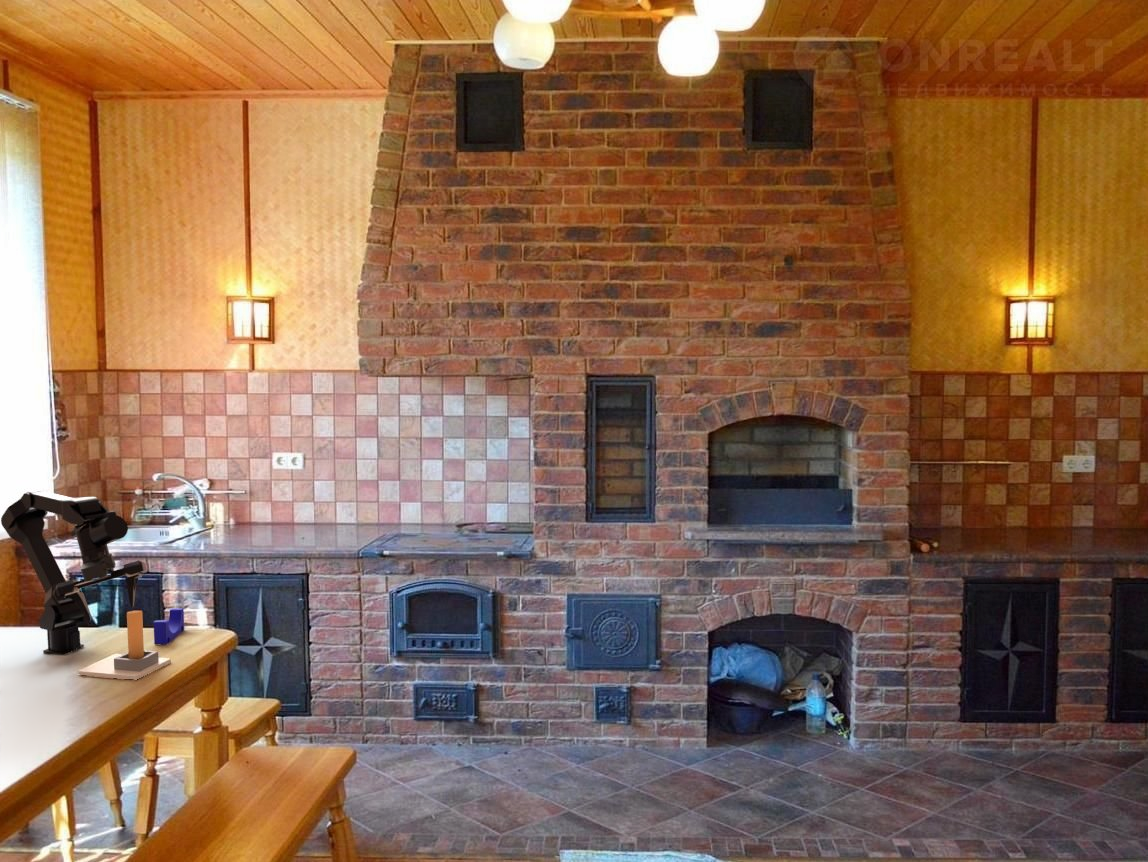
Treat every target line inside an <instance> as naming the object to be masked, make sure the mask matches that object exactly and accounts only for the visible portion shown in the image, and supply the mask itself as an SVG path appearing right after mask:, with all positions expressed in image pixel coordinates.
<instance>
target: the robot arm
mask: <svg viewBox="0 0 1148 862" xmlns="http://www.w3.org/2000/svg"><path fill="white" fill-rule="evenodd" d="M48 513H52V514H56V515H60V517H61V518H62V520H63V521H65V522H66V523H68V524H70V525H74V528H73V530H72V531H71V533H70V536H71V537H72V538H74V537H76V540H77V545H78V549H79V552H80V555H81V560H82V564H81V566H80V572H81V574H82V578H83V579H81V580H78V579H70V580H66V578H65V576H64V575H63V572H62V571H61V568H60V567H59V565H58V563H57V561H56V559H55V556H54V555H53V552H52V551H51V548H50V546H49V545H48V543H47V541H46V539H45V536H44V534H43V533H44V530H45V529H44V528H45V524H46V523H45V520H44V519H45V518H46V516H47V515H48ZM0 523H1V526H2V528H3V529H4V531H5V532H6V533H7V535H8V537H9V538H10V539H13V540H14V541H16V542H17V543H19V544H20V545H21V546H22V547H23V550H24V552H25V554H26V556H27V558H28V559H29V562H30V564H31V567H32V568H33V570H34V572H35V573H36V576H37V578H38V580H39V582H40V584H41V586H42V588H43V591H44V592H45V596H44V602H43V608H44V612H42V614H41V616H40V617H39V618H38V624H39V628H40V629H41V630H45V631H46V633H47V636H46V637H47V648H46V649H44V650H42V652H43V653H44V654H54V655H68V654H70V653H72V652H71V651H73V652H75V651H77V650H79V649H81V647H82V648H84V647H85V644H82V643H81V631H80V629H79V624H81V623H85V622H86V618H87V620H88V621H89V622H90V621H92V614H91V611H90V608H89V605H88V603H87V599H86V596H85V594H84V592H82V590H81V589H84V588H86V587H90V586H93V585H97V584H101V583H103V582H107V581H111V580H114V579H118V578H120V577H123V576H126V577H125V578H124V580H125V583H126V587H127V588H126V589H127V593H128V595H127V596H128V602H129V604H130V608H134V607H135V599H136V598H135V597H136V590H137V585H138V582H139V579H140V578H143V574H145V573H147V572H148V569H147V565H146V563H145V561H142V560H136V561H133V562H130V563H125V564H123V567H122V568H119V569H116V570H115V567H116V561H115V559H114V556H113V554H112V553H110V551H109V546H108V545H109V544H112V543H113V542H115V541H118V540H121V539H122V538H123V539H124V537H126V535H127V534H128V530H129V525H128V522H127V521H126V520H125V519H124V518H123V517H121V516H119V515H117V513H116V510H111V511H110V510H108V508H107V507H106V506H105V505H104V504H103V503H102V501H100V499H99V498H98V497H96V496H83V497H82V496H81V497H70V496H66V495H62V494H58V493H54V492H49V491H48V490H44V489H40V490H33V491H26V492H25V493H24V494H23V495H21V497H20V498H19V499H17V501H15V502H14V503H12V504H11V505H9V506H8V507H7V508H6V510H4V513H3V514H2V515H1V517H0ZM108 574H110V575H108ZM76 649H77V650H76ZM74 650H75V651H74Z"/></svg>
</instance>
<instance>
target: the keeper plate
mask: <svg viewBox="0 0 1148 862" xmlns="http://www.w3.org/2000/svg"><path fill="white" fill-rule="evenodd" d="M171 663H172V661H171V658H167V657H159V651H158V650H157V651H156V650H155V651H154V650H146V649H144V657H143V658H141V659H129V655H128V651H127V652H125V653H123V654H121V653H114V654H112V655H109V656H107V657H105V658H103V659H101V660H99V661H97V662H94V663H92V664H90V665H87V666H86V667H83V668H81V669H80V670H78V672H77V675H78V674H80V675H79V676H81V675H87V676H86V677H92V676H94V678H104V679H113V678H117V679H116V680H124V679H134V680H133V681H135V680H137V679H139V678H141V677H143V676H144V677H146V676H148V675H149V674H148V673H150V672H152V671H154V670H156V669H158V670H160V669H162V668H163V666H164V667H166V666H167V665H169V664H171ZM161 667H162V668H161ZM159 668H160V669H159ZM156 671H157V670H156ZM154 672H155V671H154ZM152 673H153V672H152ZM147 674H148V675H147ZM150 674H151V673H150ZM145 675H146V676H145ZM144 677H143V678H144ZM141 679H142V678H141ZM139 680H140V679H139ZM137 681H138V680H137Z"/></svg>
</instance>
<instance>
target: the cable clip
mask: <svg viewBox="0 0 1148 862" xmlns="http://www.w3.org/2000/svg"><path fill="white" fill-rule="evenodd" d="M184 611H185V610H184V608H181V607H180V608H179V607H177V608H172V607H171V608H170V609H169V618H168V619H161V620H160V619H158V620H157V619H156V620H154V621H153V643H154V644H161V645H160V646H167V645H168V644H169V643H171V642H172V641H173V640H174V639H175V638H177V637H178V636H179V635H180V634H181V633H182V632H184V631H185V617H184V616H185V614H184ZM154 644H153V645H154Z"/></svg>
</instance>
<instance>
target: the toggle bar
mask: <svg viewBox="0 0 1148 862" xmlns="http://www.w3.org/2000/svg"><path fill="white" fill-rule="evenodd" d="M126 621H127V623H126V626H127V649H128V650H127V652H128V655H129V659H141V658H143V657H144V650H145V648H144V644H145V643H144V625H143V610H131V611H127V612H126Z"/></svg>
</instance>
